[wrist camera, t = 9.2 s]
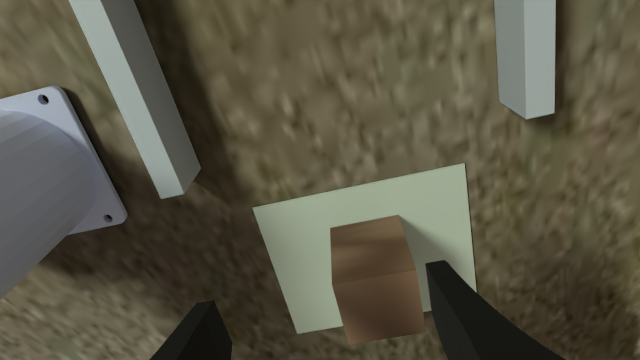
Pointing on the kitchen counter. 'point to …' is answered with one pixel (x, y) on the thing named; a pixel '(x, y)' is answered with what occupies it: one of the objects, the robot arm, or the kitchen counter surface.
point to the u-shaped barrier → (166, 124)
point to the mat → (357, 206)
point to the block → (375, 280)
